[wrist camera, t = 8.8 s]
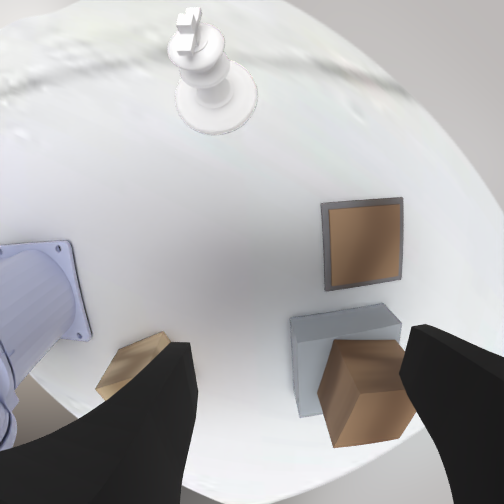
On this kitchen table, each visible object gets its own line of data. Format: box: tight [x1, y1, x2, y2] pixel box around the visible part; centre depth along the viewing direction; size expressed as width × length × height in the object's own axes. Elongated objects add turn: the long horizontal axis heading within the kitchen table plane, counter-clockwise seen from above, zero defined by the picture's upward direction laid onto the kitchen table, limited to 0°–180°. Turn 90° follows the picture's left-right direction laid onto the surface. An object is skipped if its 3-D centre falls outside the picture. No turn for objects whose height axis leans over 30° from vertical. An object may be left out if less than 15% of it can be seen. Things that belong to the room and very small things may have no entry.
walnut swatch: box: [321, 197, 403, 291], centre depth 18 cm, size 6×6×1 cm
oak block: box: [95, 331, 196, 401], centre depth 18 cm, size 4×4×5 cm
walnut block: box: [317, 339, 416, 448], centre depth 15 cm, size 4×4×5 cm
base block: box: [290, 303, 402, 418], centre depth 19 cm, size 7×7×4 cm
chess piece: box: [167, 7, 258, 135], centre depth 11 cm, size 5×5×10 cm
